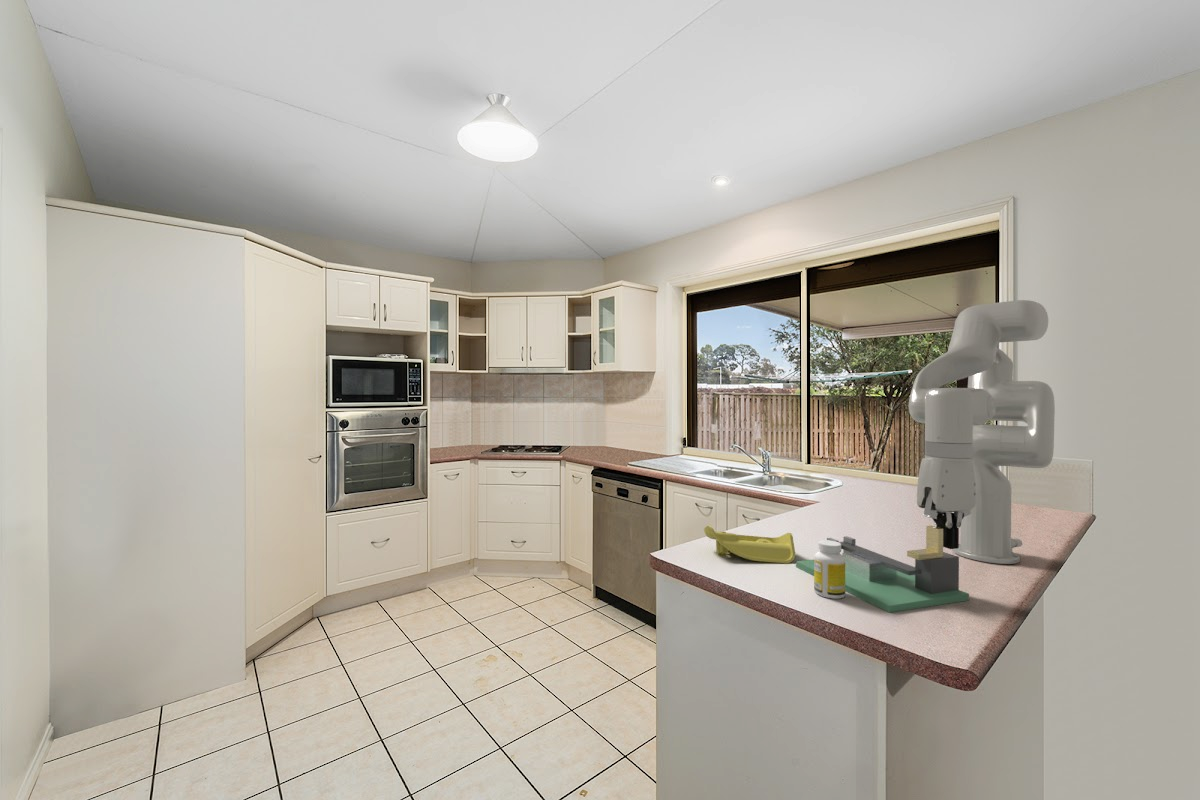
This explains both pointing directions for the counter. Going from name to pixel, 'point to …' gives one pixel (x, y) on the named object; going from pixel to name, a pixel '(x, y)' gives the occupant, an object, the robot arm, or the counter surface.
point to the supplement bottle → (829, 570)
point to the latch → (930, 545)
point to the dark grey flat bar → (880, 559)
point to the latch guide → (938, 574)
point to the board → (890, 589)
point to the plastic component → (754, 546)
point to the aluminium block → (867, 568)
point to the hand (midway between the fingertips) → (947, 546)
